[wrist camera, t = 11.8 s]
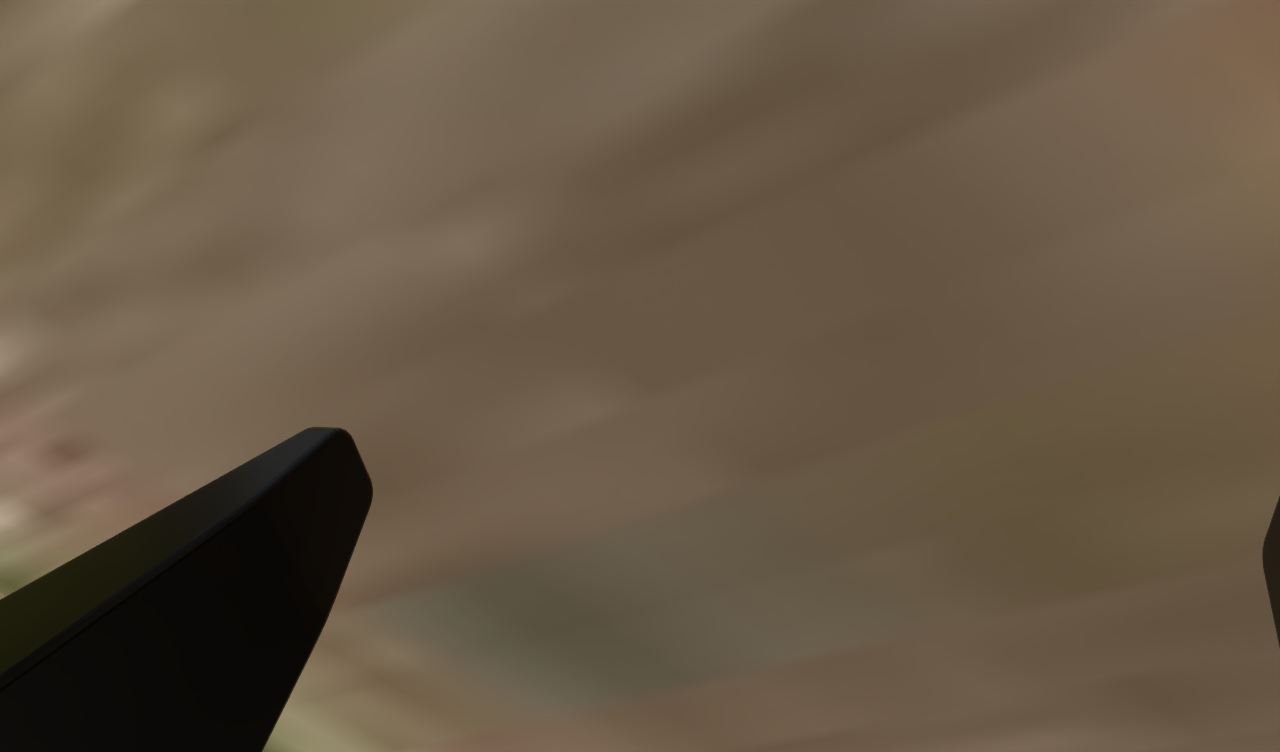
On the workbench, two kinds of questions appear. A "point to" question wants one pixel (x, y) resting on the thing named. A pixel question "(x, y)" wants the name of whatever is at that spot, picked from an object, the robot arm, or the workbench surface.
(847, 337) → the workbench surface
